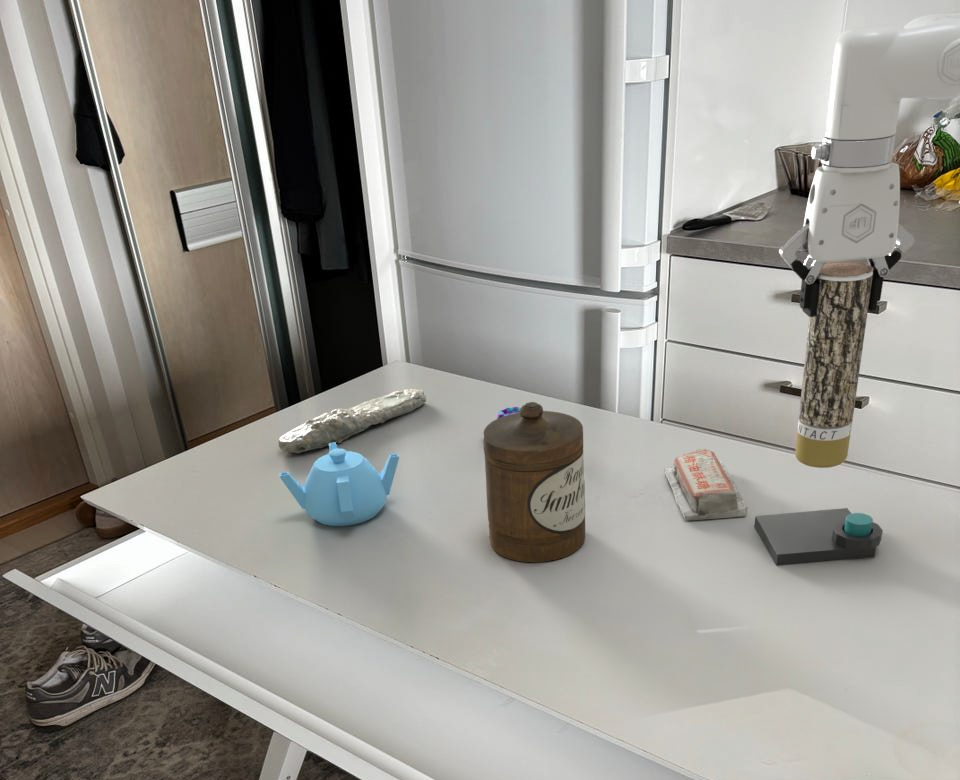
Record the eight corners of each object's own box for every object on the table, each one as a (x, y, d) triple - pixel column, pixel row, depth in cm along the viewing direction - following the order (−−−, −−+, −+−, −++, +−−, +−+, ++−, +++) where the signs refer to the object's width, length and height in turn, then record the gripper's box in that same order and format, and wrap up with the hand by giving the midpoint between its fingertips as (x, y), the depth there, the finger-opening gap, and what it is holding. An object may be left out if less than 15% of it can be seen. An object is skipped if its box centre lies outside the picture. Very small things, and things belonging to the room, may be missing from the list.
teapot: (282, 521, 164) (269, 461, 158) (339, 484, 174) (329, 427, 168) (353, 539, 157) (342, 477, 150) (408, 500, 167) (400, 441, 161)
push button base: (853, 518, 149) (857, 497, 147) (885, 559, 139) (889, 538, 137) (754, 526, 150) (755, 506, 148) (777, 568, 139) (780, 547, 137)
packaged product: (750, 489, 149) (685, 495, 150) (748, 518, 152) (684, 523, 152) (723, 442, 164) (664, 447, 164) (722, 469, 167) (663, 474, 167)
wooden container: (560, 571, 143) (555, 429, 131) (473, 552, 150) (460, 416, 137) (601, 526, 154) (599, 391, 141) (517, 510, 160) (509, 380, 148)
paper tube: (811, 445, 137) (833, 259, 123) (856, 456, 133) (884, 266, 119) (784, 461, 134) (803, 272, 119) (829, 474, 129) (855, 279, 115)
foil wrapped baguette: (439, 412, 202) (409, 404, 209) (436, 386, 200) (406, 379, 206) (298, 460, 183) (269, 450, 189) (293, 433, 180) (264, 423, 186)
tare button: (865, 524, 141) (867, 511, 140) (874, 536, 138) (876, 523, 137) (840, 526, 141) (842, 513, 140) (849, 538, 138) (851, 525, 137)
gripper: (792, 166, 109) (778, 326, 119) (948, 150, 109) (920, 312, 119) (772, 155, 115) (760, 309, 125) (919, 141, 115) (895, 295, 125)
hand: (838, 309), depth 122 cm, fingers closed on paper tube, 6 cm apart
